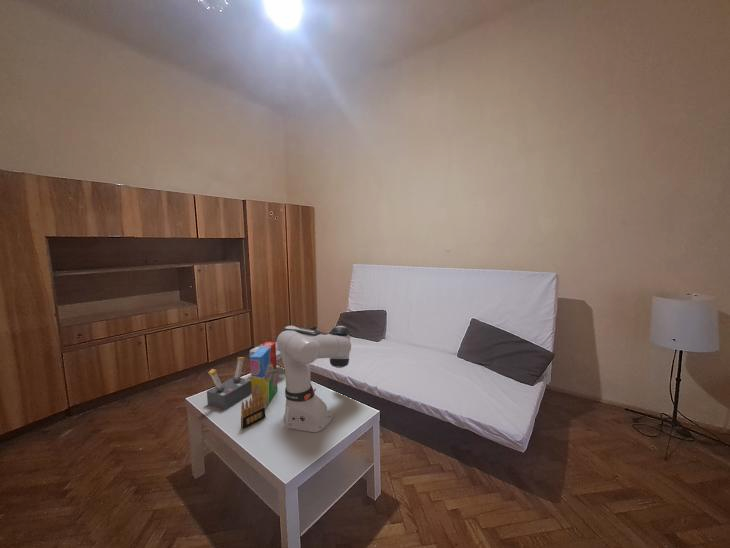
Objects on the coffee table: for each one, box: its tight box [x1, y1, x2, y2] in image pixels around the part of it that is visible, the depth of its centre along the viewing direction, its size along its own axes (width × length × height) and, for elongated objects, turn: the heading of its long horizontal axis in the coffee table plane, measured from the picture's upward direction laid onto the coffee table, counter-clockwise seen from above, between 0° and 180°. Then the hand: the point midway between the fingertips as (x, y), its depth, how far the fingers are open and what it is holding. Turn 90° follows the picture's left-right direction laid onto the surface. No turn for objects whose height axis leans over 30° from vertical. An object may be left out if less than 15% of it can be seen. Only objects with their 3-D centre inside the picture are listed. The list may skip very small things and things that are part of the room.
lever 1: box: [207, 368, 225, 391], centre depth 139 cm, size 3×2×12 cm
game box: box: [249, 341, 279, 410], centre depth 143 cm, size 21×6×27 cm, turn 179°
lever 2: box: [232, 356, 246, 382], centre depth 151 cm, size 3×2×12 cm
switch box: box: [206, 377, 252, 411], centre depth 146 cm, size 12×17×7 cm
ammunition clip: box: [240, 393, 267, 430], centre depth 126 cm, size 11×2×12 cm, turn 140°
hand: (255, 359), depth 161 cm, fingers closed
